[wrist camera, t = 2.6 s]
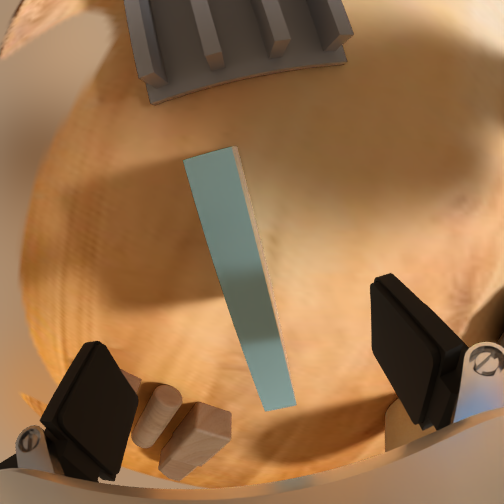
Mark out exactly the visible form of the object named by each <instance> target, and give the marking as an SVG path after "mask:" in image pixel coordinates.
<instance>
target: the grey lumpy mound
mask: <svg viewBox="0 0 504 504" xmlns="http://www.w3.org/2000/svg"><path fill="white" fill-rule="evenodd" d="M497 344H498V345H500V346H502V347H503V348H504V332H503V334H502V336H501V337H500V339H499V340H498V341H497Z"/></svg>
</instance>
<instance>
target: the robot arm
mask: <svg viewBox="0 0 504 504" xmlns="http://www.w3.org/2000/svg"><path fill="white" fill-rule="evenodd" d="M370 297H371V330H372V351H373V354H374V356H375V357H376V359H377V361H378V363H379V364H380V366H381V368H382V369H383V371H384V373H385V375H386V376H387V378H388V380H389V381H390V383H391V385H392V387H393V388H394V390H395V392H396V394H397V396H398V397H399V399H400V401H401V403H402V404H403V406H404V408H405V410H406V412H407V413H408V415H409V417H410V419H411V421H412V422H413V424H414V425H417V424H419V425H420V427H421V429H422V431H424V430H426V429H428V428H430V427H432V426H434V427H435V429H436V431H435V432H433V433H431V434H428V435H426V436H423V437H421V438H419V439H417V440H415V441H412V442H410V443H407V444H405V445H403V446H400V447H398V448H395V449H393V450H390V451H387V452H385V453H382V454H379V455H376V456H373V457H370V458H367V459H364V460H361V461H358V462H355V463H352V464H349V465H346V466H342V467H339V468H335V469H332V470H328V471H324V472H320V473H316V474H312V475H307V476H303V477H298V478H293V479H288V480H282V481H277V482H270V483H264V484H256V485H248V486H239V487H228V488H213V489H154V488H139V487H128V486H119V485H111V484H104V483H99V482H98V477H100V478H101V479H103V480H109V481H115V478H116V474H118V473H119V471H120V468H121V464H122V460H123V456H124V452H125V448H126V445H127V441H128V437H129V434H130V430H131V427H132V423H133V420H134V416H135V413H136V409H137V406H138V396H137V394H136V392H135V391H134V390H133V388H132V387H131V385H130V384H129V382H128V381H127V379H126V378H125V376H124V374H123V373H122V371H121V370H120V368H119V367H118V365H117V363H116V362H115V360H114V359H113V357H112V355H111V354H110V352H109V350H108V349H107V347H106V346H105V345H104V344H102V343H101V342H100V341H93V342H87V343H85V344H84V345H83V346H82V348H81V349H80V351H79V352H78V354H77V356H76V357H75V359H74V361H73V362H72V364H71V366H70V367H69V369H68V371H67V372H66V374H65V376H64V377H63V379H62V381H61V382H60V384H59V386H58V388H57V390H56V391H55V393H54V395H53V397H52V398H51V400H50V402H49V404H48V406H47V408H46V409H45V411H44V413H43V415H42V417H41V419H40V422H41V423H42V424H43V425H44V426H45V427H46V429H45V431H44V430H43V429H42V428H41V427H40V426H36V425H33V426H29V427H27V428H26V429H24V430H23V431H22V432H21V433H20V434H19V436H18V438H17V440H16V454H14V455H13V456H11V457H9V458H8V459H6V460H5V461H3V462H1V463H0V504H504V348H503V347H502V346H500V345H498V344H496V343H492V342H480V343H477V344H474V345H473V346H471V347H470V348H468V347H467V345H466V344H465V343H464V342H463V341H462V340H461V339H460V338H459V337H458V336H457V335H456V334H455V333H454V332H453V331H452V330H451V329H450V328H449V327H448V326H447V325H446V324H445V323H444V322H443V321H442V320H441V319H440V318H439V317H438V316H437V315H436V314H435V313H434V312H433V311H432V310H431V309H430V308H429V307H428V306H427V305H426V304H424V303H423V302H422V301H421V300H420V299H419V298H418V297H417V296H416V295H415V294H414V293H413V292H411V291H410V290H409V289H408V288H407V287H406V286H405V285H404V284H403V283H402V282H401V281H400V280H399V279H398V278H397V277H395V276H394V275H393V274H392V273H389V274H386V275H383V276H380V277H376V278H375V280H374V283H372V284H371V285H370Z"/></svg>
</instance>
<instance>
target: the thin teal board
mask: <svg viewBox="0 0 504 504" xmlns="http://www.w3.org/2000/svg"><path fill="white" fill-rule="evenodd" d="M183 163H184V166H185V170H186V173H187V177H188V180H189V184H190V187H191V191H192V194H193V198H194V201H195V205H196V208H197V211H198V215H199V218H200V221H201V225H202V228H203V231H204V235H205V238H206V241H207V244H208V247H209V251H210V254H211V257H212V260H213V263H214V266H215V270H216V273H217V276H218V279H219V282H220V285H221V288H222V291H223V294H224V297H225V300H226V303H227V306H228V309H229V312H230V315H231V318H232V321H233V324H234V327H235V330H236V333H237V336H238V338H239V341H240V344H241V347H242V350H243V353H244V355H245V358H246V361H247V364H248V367H249V369H250V372H251V375H252V378H253V380H254V383H255V386H256V389H257V391H258V394H259V397H260V399H261V402H262V405H263V407H264V410H265V411H271V410H276V409H281V408H286V407H290V406H295V405H297V404H296V399H295V394H294V389H293V384H292V379H291V374H290V369H289V364H288V359H287V355H286V350H285V345H284V340H283V335H282V330H281V325H280V321H279V316H278V311H277V306H276V301H275V297H274V292H273V287H272V283H271V279H270V275H269V271H268V267H267V263H266V258H265V254H264V250H263V246H262V242H261V238H260V234H259V230H258V226H257V222H256V218H255V214H254V210H253V206H252V202H251V198H250V194H249V190H248V186H247V182H246V178H245V174H244V171H243V167H242V163H241V159H240V155H239V151H238V147H237V146H232V147H228V148H224V149H220V150H216V151H213V152H209V153H206V154H202V155H199V156H195V157H192V158H188V159H185V160H183Z"/></svg>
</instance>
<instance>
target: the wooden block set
mask: <svg viewBox="0 0 504 504" xmlns="http://www.w3.org/2000/svg"><path fill="white" fill-rule="evenodd" d="M120 370H121V369H120ZM121 371H122V373H123V374H124V376H125V378H126V379H127V381H128V382H129V384H130V385H131V387H132V388H133V390H134V391H135V392H136V394H137V391H138V388H139V385H140V382H141V379H140V378H138V377H136V376H134V375H132V374H129V373H127V372H125V371H123V370H121ZM181 404H182V396H181V394H180V392H179V391H178V390H177V389H175V388H174V387H172V386H169V385H160V386H158V387H157V388H156V389H155V390H154V392H153V394H152V396H151V398H150V400H149V402H148V404H147V405H146V407H145V409H144V411H143V413H142V415H141V417H140V418H139V420H138V422H137V424H136V426H135V428H134V430H133V432H132V434H131V437H132V440H133V442H134V443H135V444H136V445H137V446H139V447H141V448H149V447H151V446H152V445H153V444H154V443H155V441H156V440H157V439H158V437H159V436H160V434H161V433H162V432H163V430H164V429H165V427H166V426H167V424H168V423H169V422H170V420H171V419H172V417H173V416H174V415H175V413H176V412H177V410H178V409H179V407H180V406H181ZM230 440H231V413H230V412H228V411H225V410H222V409H219V408H216V407H213V406H210V405H207V404H205V403H202V402H197V403H196V404H195V405H194V406H193V408H192V409H191V410H190V412H189V413H188V414H187V416H186V417H185V418H184V419H183V421H182V422H181V423H180V425H179V426H178V427H177V429H176V430H175V431H174V432H173V436H172V438H171V439H170V440H169V442H168V443H167V444H166V445H165V447H164V448H163V449H162V451H161V456H160V461H159V467H158V468H159V470H160V471H161V472H162V473H163V474H164V475H165V476H167V477H168V478H170V479H173V480H177V481H180V480H182V479H183V478H184V477H185V476H187V475H188V474H189V473H190V472H191V471H193V470H194V469H195V468H196V467H197V466H202V465H203V464H205V463H206V462H207V461H208V460H209V459H210V458H212V457H213V456H214V455H215V454H216V453H217V452H218V451H220V450H221V449H222V448H223V447H224V446H225V445H226V444H227V443H228V442H230Z"/></svg>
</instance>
